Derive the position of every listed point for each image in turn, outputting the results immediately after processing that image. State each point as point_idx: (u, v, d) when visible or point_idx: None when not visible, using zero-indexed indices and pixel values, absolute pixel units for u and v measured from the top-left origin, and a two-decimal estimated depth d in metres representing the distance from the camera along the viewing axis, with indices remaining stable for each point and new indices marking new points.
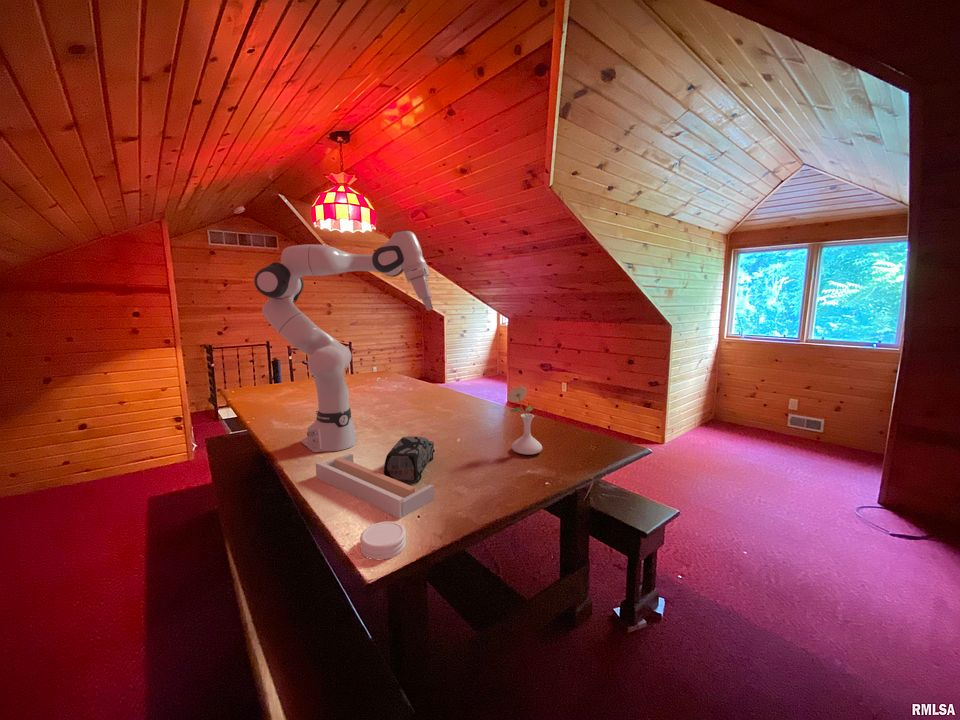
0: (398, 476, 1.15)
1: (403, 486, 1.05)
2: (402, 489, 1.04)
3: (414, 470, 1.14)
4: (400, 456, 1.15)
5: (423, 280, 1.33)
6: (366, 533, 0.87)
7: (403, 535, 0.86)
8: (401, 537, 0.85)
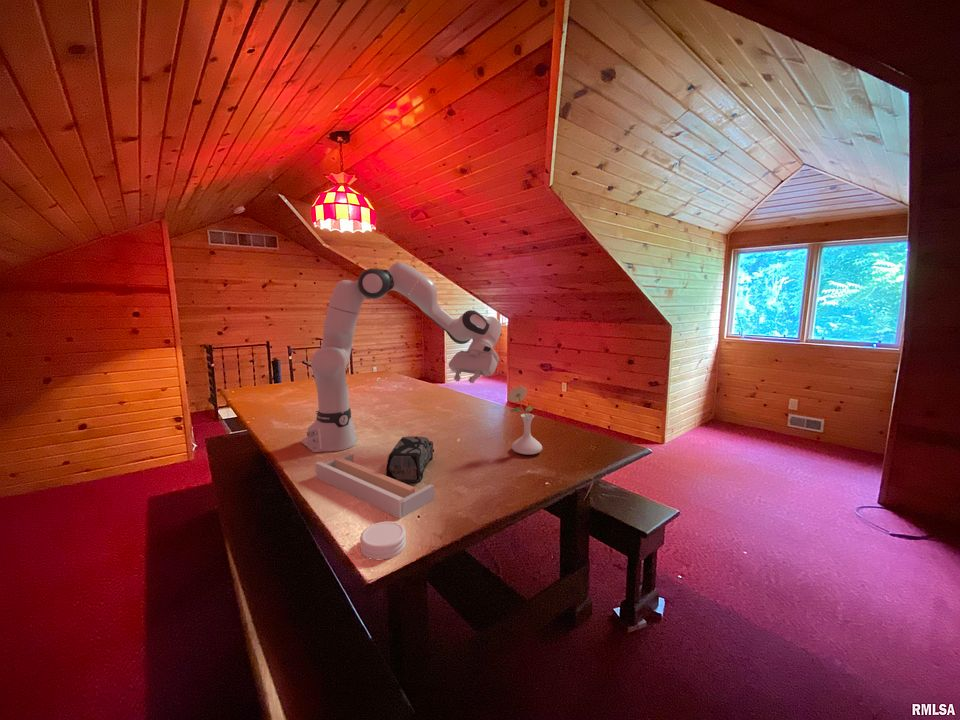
0: (401, 475, 1.15)
1: (403, 486, 1.05)
2: (402, 489, 1.04)
3: (417, 470, 1.15)
4: (402, 455, 1.15)
5: (496, 364, 1.46)
6: (366, 533, 0.87)
7: (403, 535, 0.86)
8: (401, 537, 0.85)
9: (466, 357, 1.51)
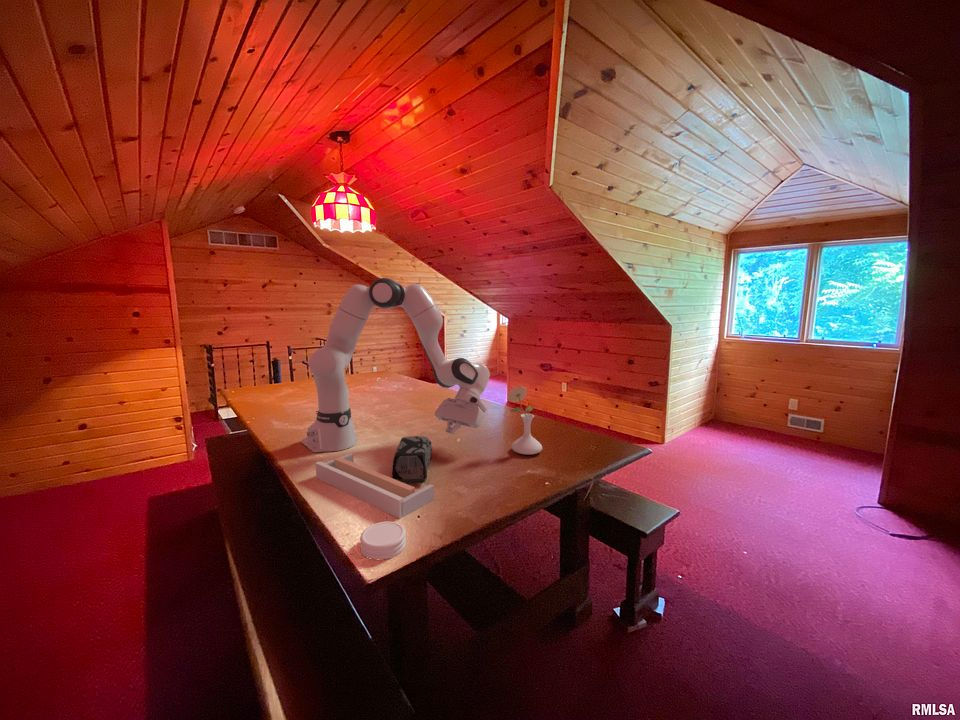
0: (407, 475, 1.15)
1: (403, 486, 1.05)
2: (402, 489, 1.04)
3: (423, 469, 1.15)
4: (408, 455, 1.15)
5: (483, 416, 1.42)
6: (366, 533, 0.87)
7: (403, 535, 0.86)
8: (401, 537, 0.85)
9: (453, 406, 1.47)
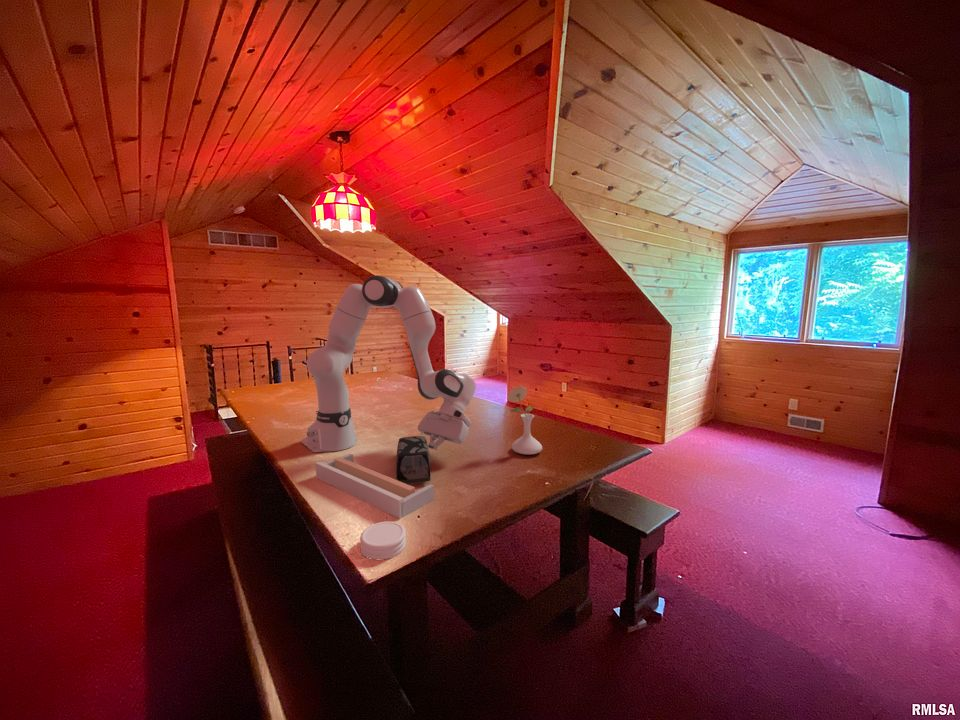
0: (412, 475, 1.15)
1: (403, 486, 1.05)
2: (402, 489, 1.04)
3: (428, 468, 1.16)
4: (413, 455, 1.15)
5: (468, 430, 1.35)
6: (366, 533, 0.87)
7: (403, 535, 0.86)
8: (401, 537, 0.85)
9: (436, 420, 1.40)
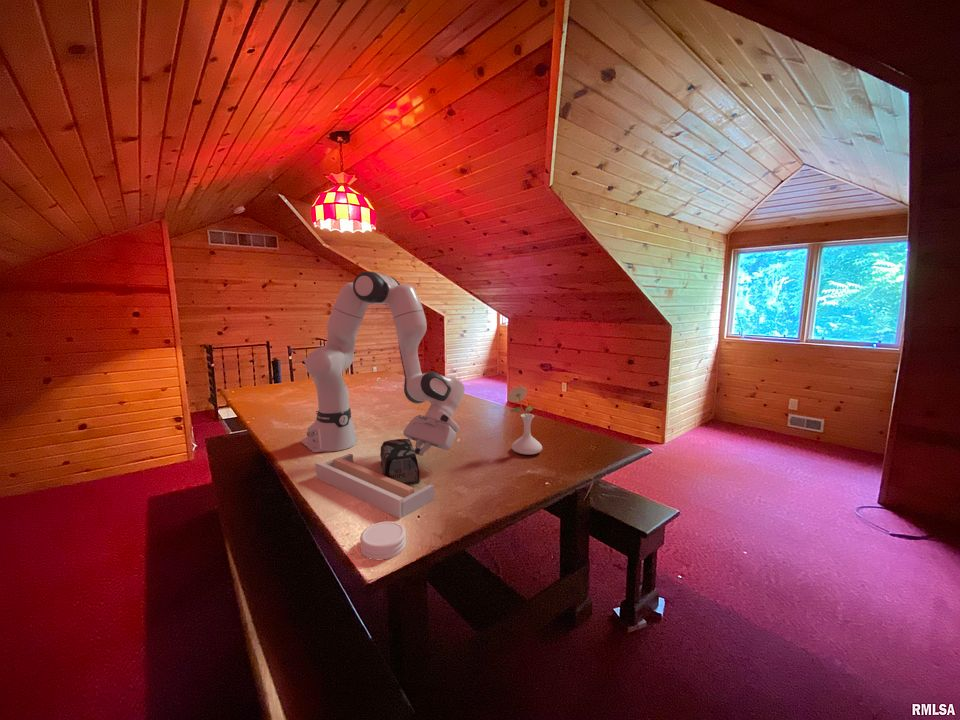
0: (401, 479, 1.13)
1: (402, 486, 1.05)
2: (402, 490, 1.04)
3: (418, 470, 1.14)
4: (402, 458, 1.13)
5: (455, 436, 1.29)
6: (366, 533, 0.87)
7: (403, 535, 0.86)
8: (401, 537, 0.85)
9: (423, 425, 1.34)
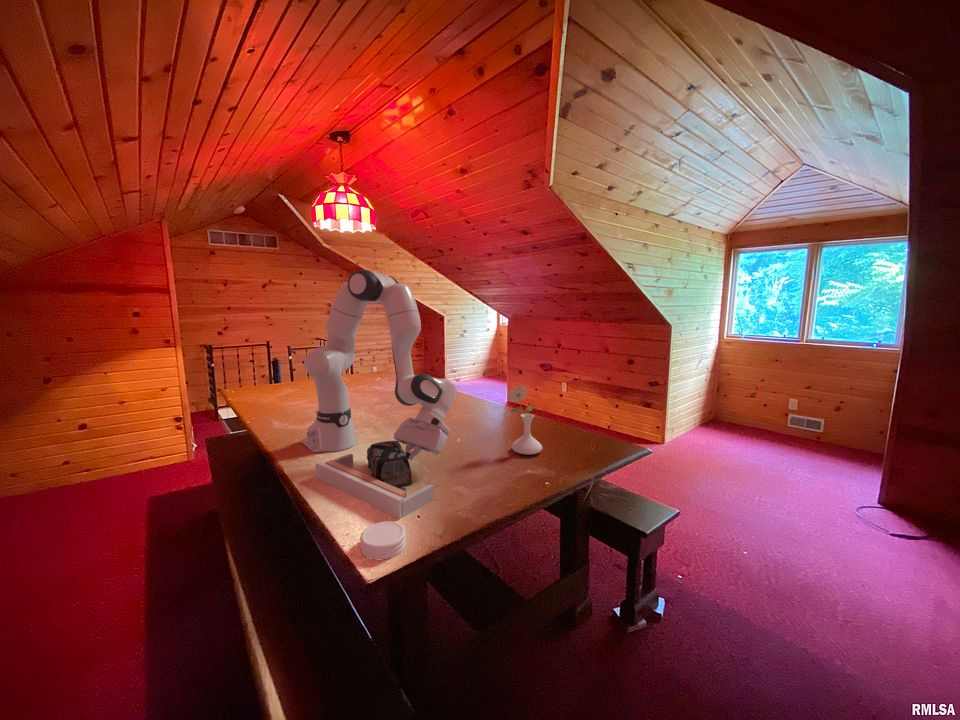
0: (393, 481, 1.11)
1: (394, 490, 1.03)
2: None
3: (410, 472, 1.13)
4: (393, 460, 1.11)
5: (446, 439, 1.26)
6: (366, 533, 0.87)
7: (403, 535, 0.86)
8: (401, 537, 0.85)
9: (413, 428, 1.31)
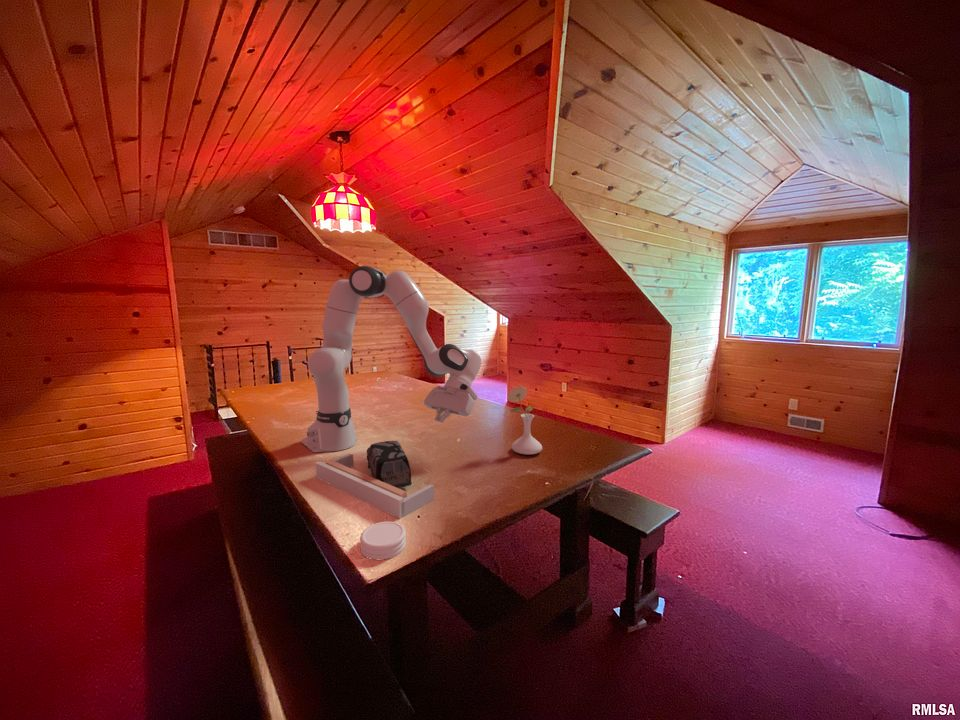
0: (393, 481, 1.11)
1: (394, 490, 1.03)
2: None
3: (409, 472, 1.13)
4: (393, 460, 1.12)
5: (474, 403, 1.36)
6: (366, 533, 0.87)
7: (403, 535, 0.86)
8: (401, 537, 0.85)
9: (442, 394, 1.41)
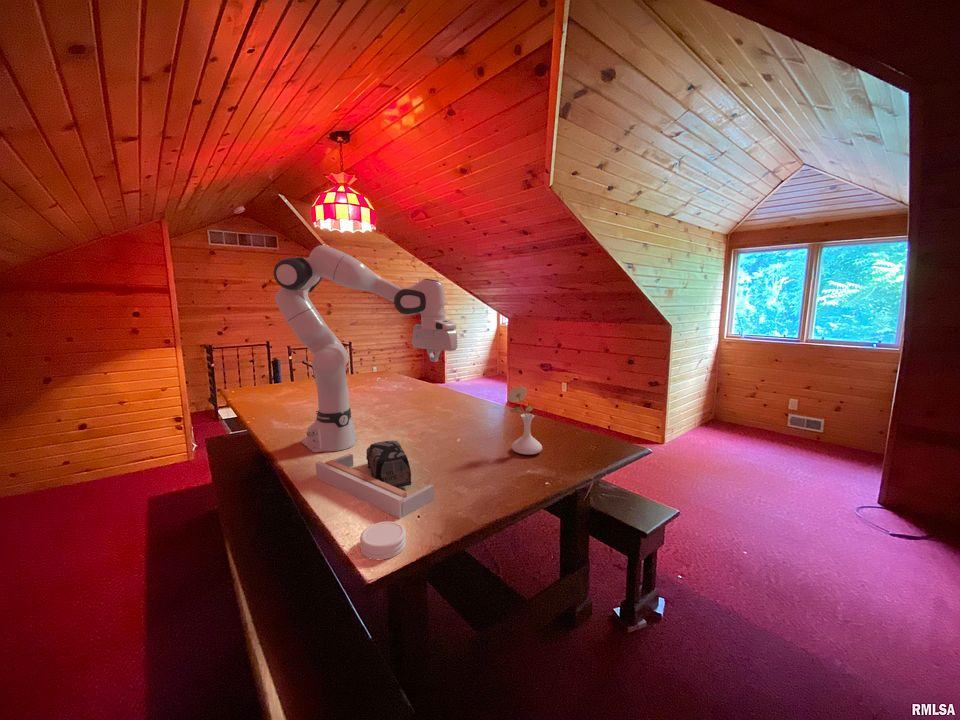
0: (393, 481, 1.12)
1: (394, 490, 1.03)
2: None
3: (409, 472, 1.13)
4: (393, 460, 1.12)
5: (456, 334, 1.38)
6: (366, 533, 0.87)
7: (403, 535, 0.86)
8: (401, 537, 0.85)
9: (424, 335, 1.42)
